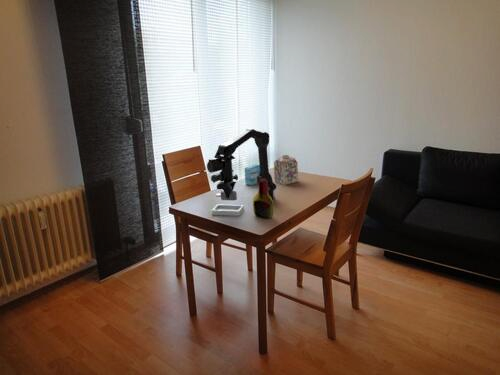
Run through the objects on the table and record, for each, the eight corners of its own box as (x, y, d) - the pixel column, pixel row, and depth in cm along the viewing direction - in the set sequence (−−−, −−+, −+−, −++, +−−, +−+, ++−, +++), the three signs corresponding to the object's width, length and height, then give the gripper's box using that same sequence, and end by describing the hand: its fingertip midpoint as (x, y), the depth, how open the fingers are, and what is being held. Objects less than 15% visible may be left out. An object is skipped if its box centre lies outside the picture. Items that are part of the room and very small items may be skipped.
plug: (237, 198, 190) (237, 191, 189) (235, 200, 187) (235, 193, 186) (218, 197, 193) (217, 190, 192) (216, 199, 190) (215, 192, 189)
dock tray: (243, 209, 194) (243, 205, 194) (239, 215, 186) (239, 211, 185) (217, 208, 198) (217, 204, 197) (212, 214, 190) (211, 210, 189)
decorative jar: (288, 178, 247) (287, 152, 242) (298, 181, 238) (298, 155, 232) (273, 181, 242) (272, 155, 236) (283, 185, 232) (283, 158, 227)
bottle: (276, 216, 182) (275, 179, 176) (269, 221, 177) (267, 182, 171) (258, 212, 189) (256, 176, 183) (250, 216, 185) (248, 179, 179)
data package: (250, 185, 235) (249, 168, 231) (245, 184, 238) (244, 167, 235) (262, 181, 243) (261, 164, 239) (257, 180, 246) (257, 163, 242)
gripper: (217, 164, 195) (220, 191, 200) (205, 173, 178) (208, 202, 183) (237, 164, 192) (239, 191, 197) (226, 173, 175) (229, 203, 180)
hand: (228, 197), depth 189 cm, fingers closed on plug, 4 cm apart
